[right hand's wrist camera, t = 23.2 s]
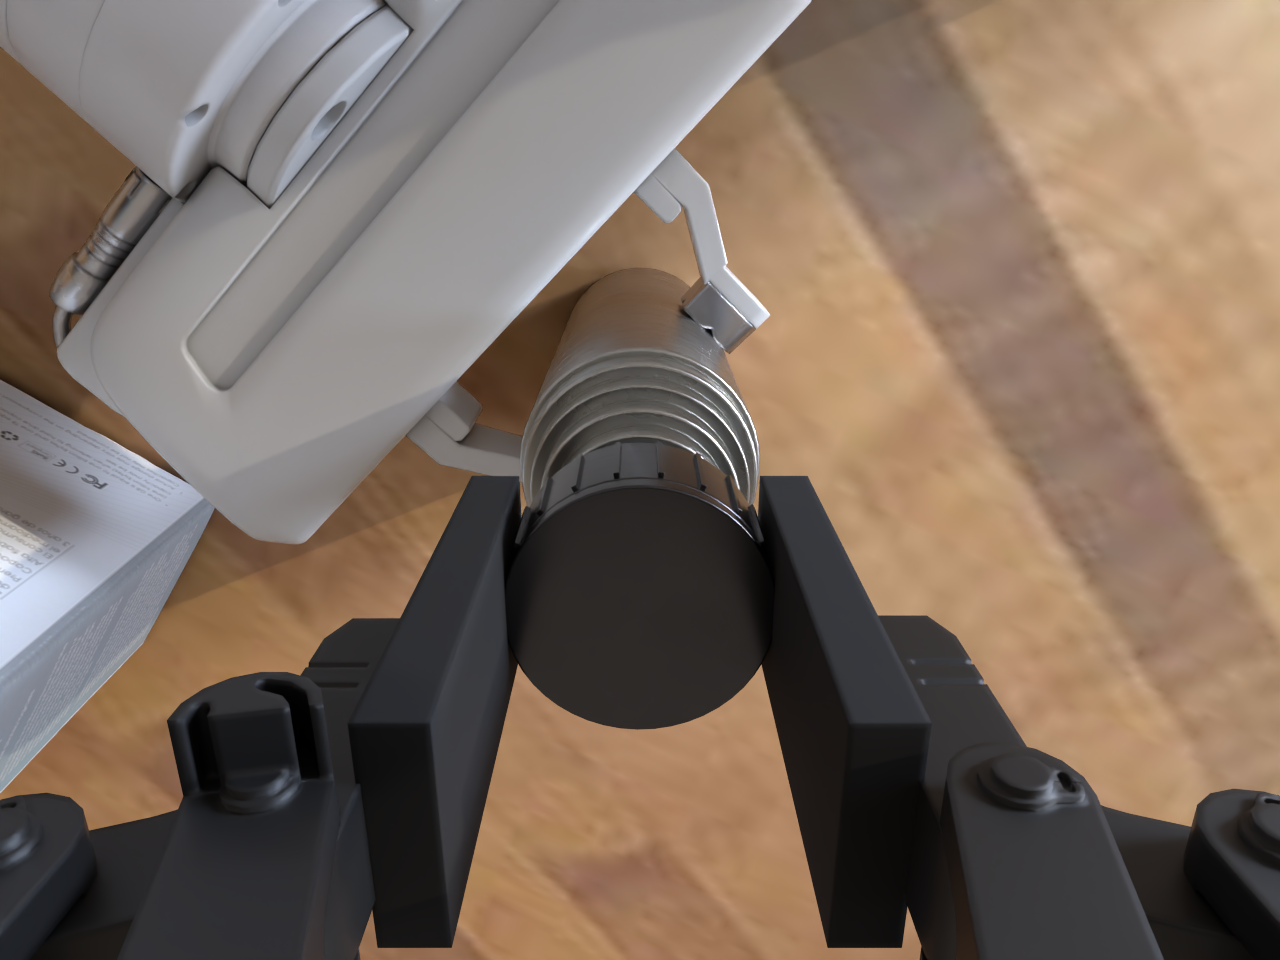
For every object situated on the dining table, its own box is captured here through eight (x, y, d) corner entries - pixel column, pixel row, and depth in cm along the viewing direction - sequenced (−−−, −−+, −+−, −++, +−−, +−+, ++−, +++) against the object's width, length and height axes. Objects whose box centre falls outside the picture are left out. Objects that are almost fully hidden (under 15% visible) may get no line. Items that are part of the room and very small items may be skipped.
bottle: (700, 253, 29) (779, 398, 13) (725, 399, 31) (824, 696, 14) (550, 284, 30) (435, 464, 13) (583, 426, 31) (519, 747, 15)
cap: (667, 388, 14) (672, 426, 12) (810, 579, 15) (834, 640, 13) (465, 532, 14) (440, 587, 13) (615, 702, 16) (612, 776, 14)
